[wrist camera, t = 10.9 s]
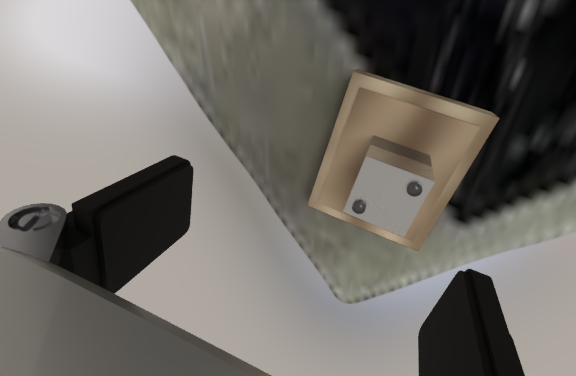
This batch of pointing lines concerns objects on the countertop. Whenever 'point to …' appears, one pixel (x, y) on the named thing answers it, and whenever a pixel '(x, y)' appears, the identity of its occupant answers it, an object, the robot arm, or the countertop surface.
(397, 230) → the block
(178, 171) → the robot arm
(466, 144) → the beech stand
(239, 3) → the countertop surface
